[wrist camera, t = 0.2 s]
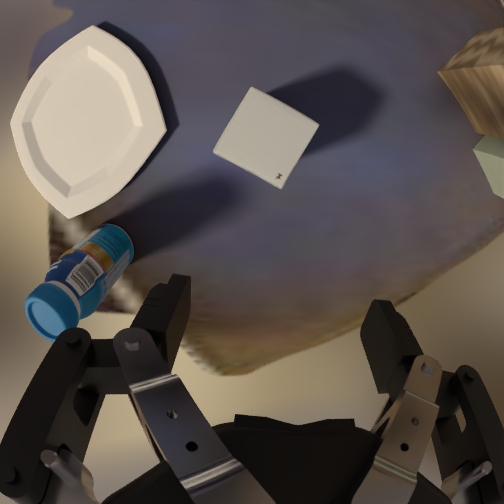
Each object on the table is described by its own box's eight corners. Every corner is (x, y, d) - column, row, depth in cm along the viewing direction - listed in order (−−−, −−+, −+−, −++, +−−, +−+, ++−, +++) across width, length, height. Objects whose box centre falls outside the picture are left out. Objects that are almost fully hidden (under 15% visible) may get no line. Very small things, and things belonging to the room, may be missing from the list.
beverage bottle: (139, 270, 45) (83, 356, 27) (96, 267, 45) (33, 342, 27) (132, 222, 42) (60, 294, 23) (87, 221, 42) (9, 284, 23)
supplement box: (303, 124, 35) (323, 125, 24) (274, 170, 38) (281, 192, 27) (253, 95, 34) (251, 83, 22) (226, 143, 37) (210, 153, 25)
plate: (5, 122, 34) (-2, 123, 32) (105, 8, 27) (99, 4, 25) (74, 234, 43) (68, 239, 41) (196, 133, 36) (192, 133, 34)
